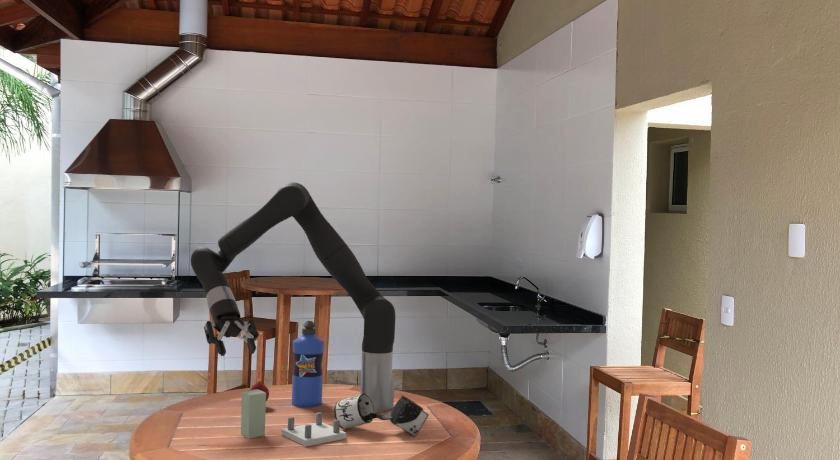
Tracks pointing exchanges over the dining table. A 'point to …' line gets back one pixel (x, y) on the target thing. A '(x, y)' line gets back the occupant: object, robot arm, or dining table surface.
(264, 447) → the dining table surface
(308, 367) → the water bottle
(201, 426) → the dining table surface
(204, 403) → the dining table surface
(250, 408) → the block
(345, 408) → the lettered night shade jar
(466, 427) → the dining table surface
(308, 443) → the peg stand
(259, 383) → the onion
